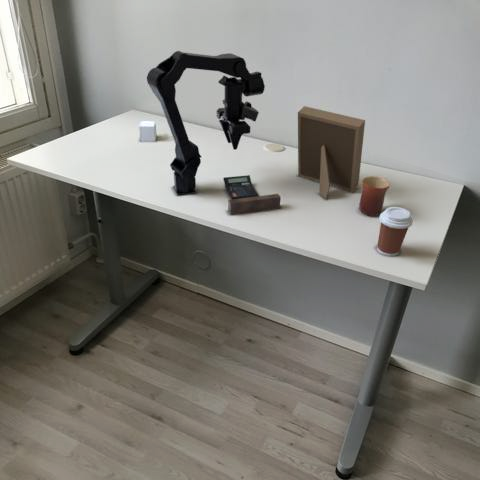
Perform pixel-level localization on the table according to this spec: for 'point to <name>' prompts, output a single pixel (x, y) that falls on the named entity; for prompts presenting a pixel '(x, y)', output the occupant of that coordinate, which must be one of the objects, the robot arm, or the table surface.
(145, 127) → the white cube
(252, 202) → the rail
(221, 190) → the table surface
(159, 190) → the table surface
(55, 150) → the table surface
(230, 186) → the calculator
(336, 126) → the photo frame
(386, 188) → the mug
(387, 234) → the coffee cup
